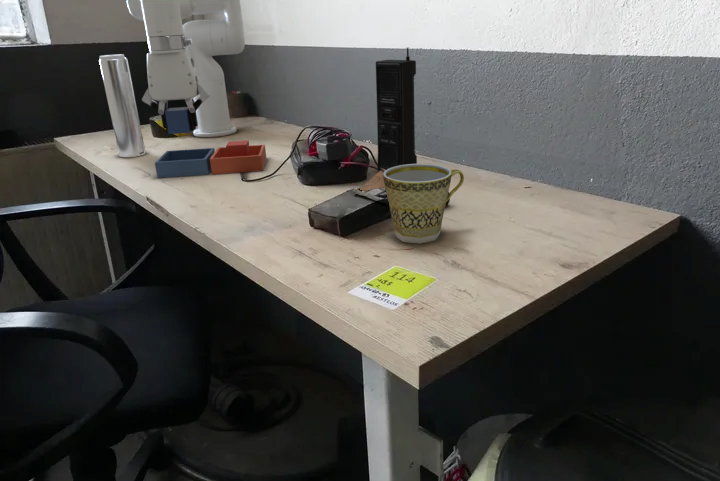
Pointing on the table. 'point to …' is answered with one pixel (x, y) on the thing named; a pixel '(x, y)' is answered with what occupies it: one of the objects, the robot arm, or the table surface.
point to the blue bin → (184, 163)
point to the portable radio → (395, 112)
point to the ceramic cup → (418, 199)
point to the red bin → (238, 161)
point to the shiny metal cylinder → (122, 105)
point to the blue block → (177, 120)
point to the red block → (238, 148)
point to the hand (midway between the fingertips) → (181, 129)
